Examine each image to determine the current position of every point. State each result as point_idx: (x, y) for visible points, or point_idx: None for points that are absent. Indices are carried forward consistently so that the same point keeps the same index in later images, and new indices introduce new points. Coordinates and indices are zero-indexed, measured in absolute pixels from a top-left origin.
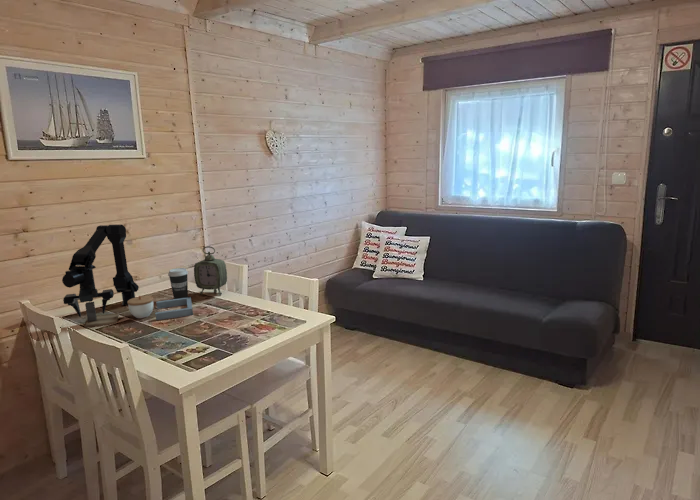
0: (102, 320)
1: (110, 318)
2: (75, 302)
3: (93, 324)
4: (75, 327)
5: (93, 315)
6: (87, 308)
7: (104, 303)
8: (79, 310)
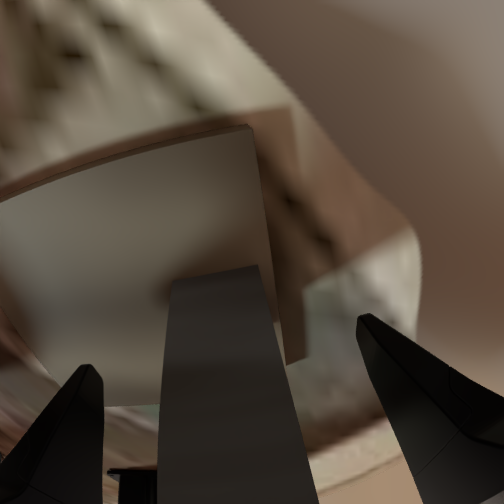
0: (95, 278)
1: (50, 315)
2: (499, 492)
3: (140, 152)
4: (370, 188)
5: (182, 332)
6: (269, 434)
7: (8, 474)
8: (392, 397)
